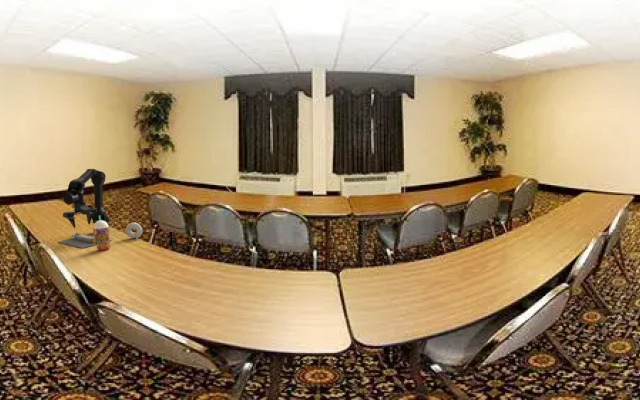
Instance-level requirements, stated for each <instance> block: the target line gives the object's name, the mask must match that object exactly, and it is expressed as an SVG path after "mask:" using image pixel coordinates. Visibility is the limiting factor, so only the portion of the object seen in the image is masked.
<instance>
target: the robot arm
mask: <svg viewBox="0 0 640 400" xmlns="http://www.w3.org/2000/svg"><path fill="white" fill-rule="evenodd" d="M106 176H107V175H106V174H105V172H104V171H100V170H97V169H95V168H86V171H84V172H83V173H82V174H81V175H80V176H78V178H75V179H72V180H70V181H69V183H68V186H67V187H68V188H67V190H66V192H65V194H66V195H65V196H64V197H63V202H64V203H65V204H66V205H72V206H73V208H74V209H73V211H65V212H63V213H62V217H63V218H65V219H67V220H68V221H69V222H70V224H71V225H72V227H73V228H74V229H75V228H76V220H75V219H76V217H75V216H76V215H81V214H82V215H85V216H86V220H87V223H88V225H91V221H92V223H93V224H95V222H97V221H99V216H100V219H101V220H103V221H105V222H106V223H107V224H108V223H109V222H110V217H109V216H108V215H107V213H106V210H105V209H104V201H103V199H104V198H103V197H104V195H103V192H104V191H103V185H104V183H105V182H106ZM89 180H90V181H91V183H92V185H93V191H94V193H93V194H94V197H93V199H94V200H93V201H94V205H92V204H88V205H87V204H86V201H85V199H84V193H85V190H84V188H85V187H86V183H87V182H88V181H89Z"/></svg>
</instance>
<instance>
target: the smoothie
mask: <svg viewBox="0 0 640 400" xmlns="http://www.w3.org/2000/svg"><path fill="white" fill-rule="evenodd" d="M92 229H93V236H95V240H96V245H95V246H96V249H97V250H98V251H99V252H103V251H104V252H105V251H109V249H110V247H111V245H110V243H111V241H110V240H111V238H110V226H109V224H108V223H106V222H105V221H103V220H101V219H100V216H99V221H97V222H95V223H93V226H92Z"/></svg>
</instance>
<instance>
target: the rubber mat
mask: <svg viewBox="0 0 640 400" xmlns="http://www.w3.org/2000/svg"><path fill="white" fill-rule="evenodd" d="M85 235H86V236H90V237H95V235H89V234H85ZM110 242H112V240H111V239H110ZM58 243H59V244H62V245H66V246H69V247H75V248H78V249H82V250H84V249H87V248H91V247H94V246H95V247H96V246H97V245H96V243H90V242H87V241H82V240H78V239H72V237H71V238H67V239H64V240H60V241H58Z"/></svg>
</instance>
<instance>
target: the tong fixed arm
mask: <svg viewBox="0 0 640 400" xmlns="http://www.w3.org/2000/svg"><path fill="white" fill-rule="evenodd" d="M76 235H80V236H85V237H89V238H94V239H95V237H90V236H91V235H90V236H86V235H87V234H81V233H80V232H75V233H72V234H71V238H72V239H77V238H76ZM95 242H96V240H95Z"/></svg>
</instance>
